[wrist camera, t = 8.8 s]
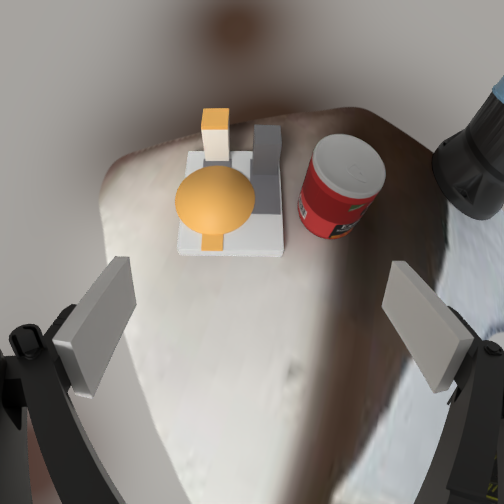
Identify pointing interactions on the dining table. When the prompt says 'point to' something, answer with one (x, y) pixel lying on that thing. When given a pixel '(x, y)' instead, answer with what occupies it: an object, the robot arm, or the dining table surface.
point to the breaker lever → (216, 134)
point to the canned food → (339, 185)
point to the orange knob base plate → (233, 201)
